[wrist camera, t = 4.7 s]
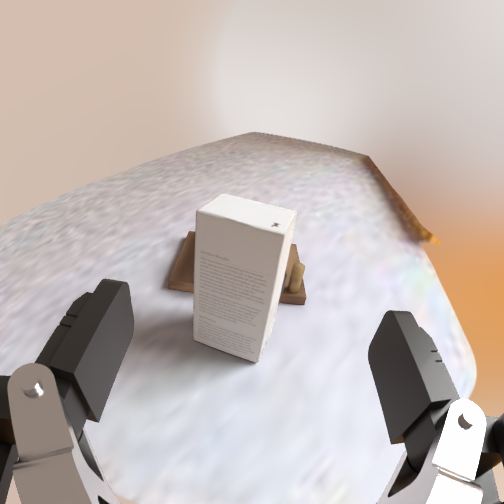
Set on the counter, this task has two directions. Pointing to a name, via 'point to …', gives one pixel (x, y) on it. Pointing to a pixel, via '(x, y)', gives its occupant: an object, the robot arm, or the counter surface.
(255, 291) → the skincare box
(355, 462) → the counter surface
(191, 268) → the locating plate
